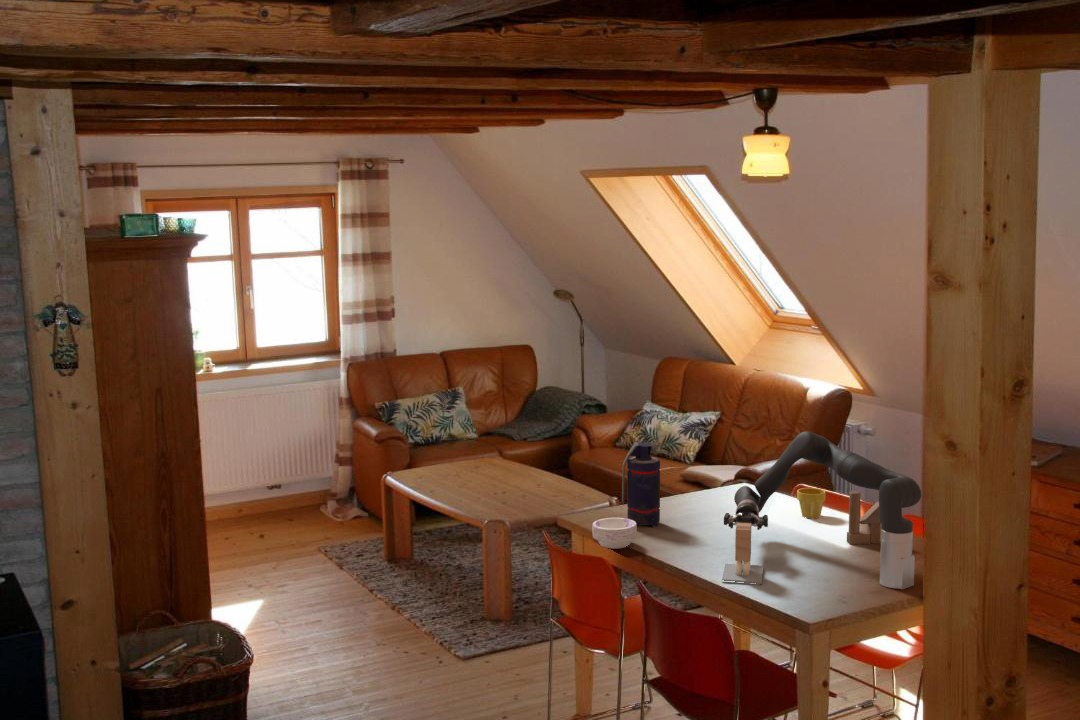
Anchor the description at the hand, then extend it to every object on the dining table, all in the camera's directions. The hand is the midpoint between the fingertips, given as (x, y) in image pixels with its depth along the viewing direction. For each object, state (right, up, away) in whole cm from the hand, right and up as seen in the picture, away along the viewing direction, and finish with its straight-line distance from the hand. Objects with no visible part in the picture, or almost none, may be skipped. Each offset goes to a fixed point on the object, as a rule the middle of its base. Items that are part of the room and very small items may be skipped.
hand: (745, 526), depth 373 cm
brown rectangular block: (-2, -8, -9) cm, 12 cm away
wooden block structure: (+45, -10, +25) cm, 53 cm away
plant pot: (+35, -5, +59) cm, 69 cm away
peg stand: (-2, -14, -8) cm, 17 cm away
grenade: (-29, -7, +52) cm, 60 cm away
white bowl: (-40, -10, +26) cm, 49 cm away
